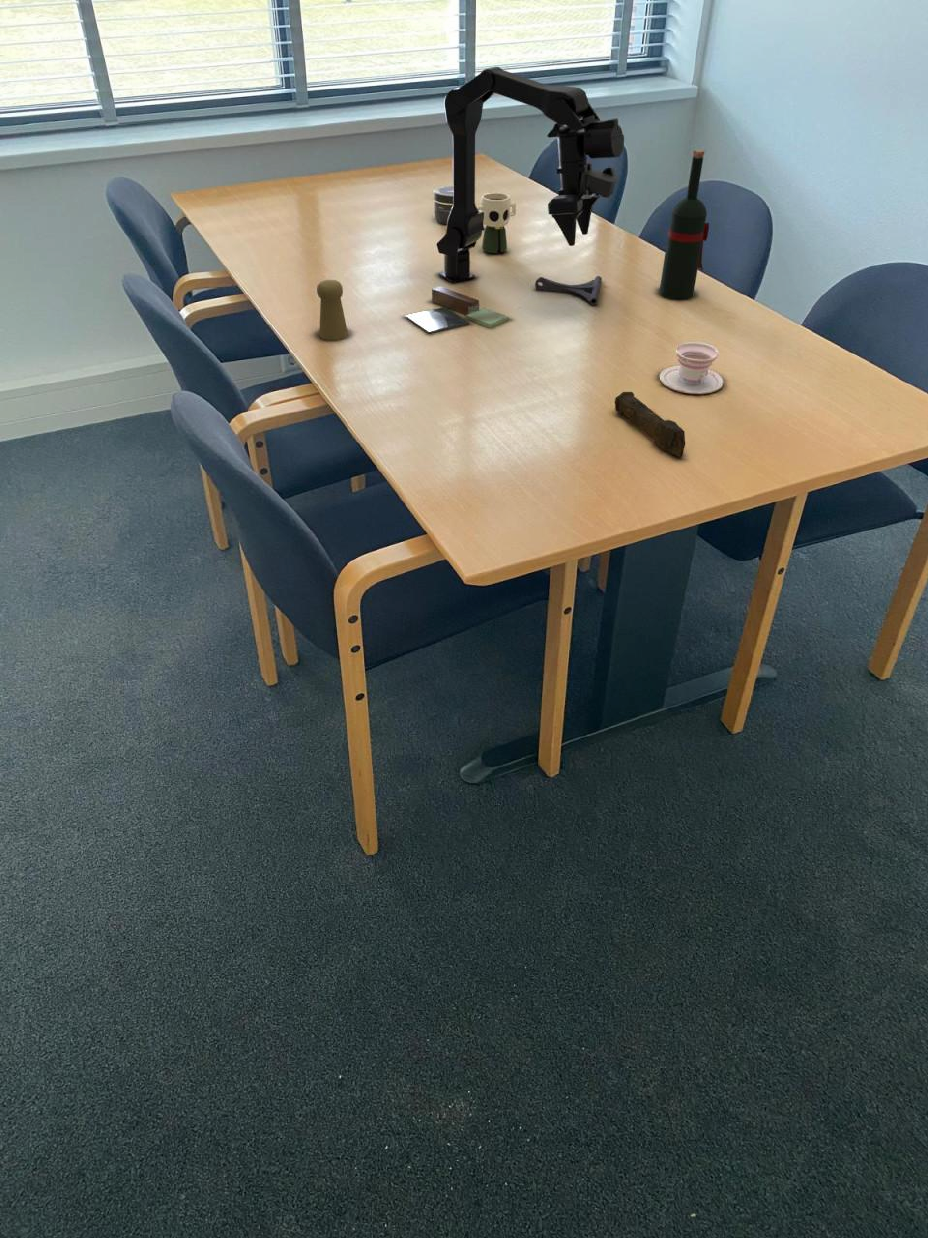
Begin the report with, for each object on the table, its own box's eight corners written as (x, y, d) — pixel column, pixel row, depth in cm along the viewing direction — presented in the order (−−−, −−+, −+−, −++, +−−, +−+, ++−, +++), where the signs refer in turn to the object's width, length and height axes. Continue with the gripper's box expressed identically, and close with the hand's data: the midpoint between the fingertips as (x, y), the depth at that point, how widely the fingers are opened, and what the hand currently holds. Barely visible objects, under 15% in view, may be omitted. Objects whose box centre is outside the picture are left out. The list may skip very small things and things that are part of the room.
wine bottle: (708, 294, 210) (734, 151, 191) (673, 302, 207) (696, 157, 187) (686, 283, 216) (709, 143, 196) (652, 290, 212) (672, 148, 193)
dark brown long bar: (612, 412, 165) (614, 388, 162) (631, 408, 166) (634, 385, 163) (666, 463, 152) (671, 438, 149) (687, 458, 153) (692, 433, 150)
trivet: (405, 317, 198) (405, 315, 198) (445, 308, 202) (445, 306, 202) (429, 333, 192) (429, 331, 191) (469, 324, 196) (469, 321, 195)
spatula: (426, 304, 204) (426, 290, 202) (445, 297, 208) (445, 283, 206) (489, 327, 194) (490, 313, 192) (508, 319, 198) (508, 306, 196)
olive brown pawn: (352, 331, 192) (349, 278, 185) (340, 342, 188) (336, 288, 181) (326, 327, 194) (322, 274, 187) (314, 337, 189) (308, 284, 182)
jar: (477, 218, 253) (477, 189, 248) (457, 228, 246) (458, 197, 241) (447, 212, 257) (447, 183, 252) (427, 221, 250) (426, 191, 245)
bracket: (538, 278, 218) (539, 266, 216) (601, 282, 215) (602, 270, 214) (531, 300, 207) (531, 288, 205) (596, 305, 205) (598, 293, 203)
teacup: (709, 401, 169) (716, 369, 165) (649, 385, 174) (654, 354, 170) (731, 377, 177) (738, 346, 173) (673, 362, 182) (678, 332, 178)
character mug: (479, 257, 228) (480, 202, 220) (469, 248, 233) (469, 194, 225) (519, 252, 231) (522, 198, 223) (508, 244, 236) (510, 190, 228)
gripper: (598, 165, 177) (603, 249, 185) (623, 147, 190) (627, 226, 199) (544, 170, 181) (550, 252, 190) (572, 152, 195) (577, 229, 204)
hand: (578, 239), depth 196 cm, fingers open, 9 cm apart
